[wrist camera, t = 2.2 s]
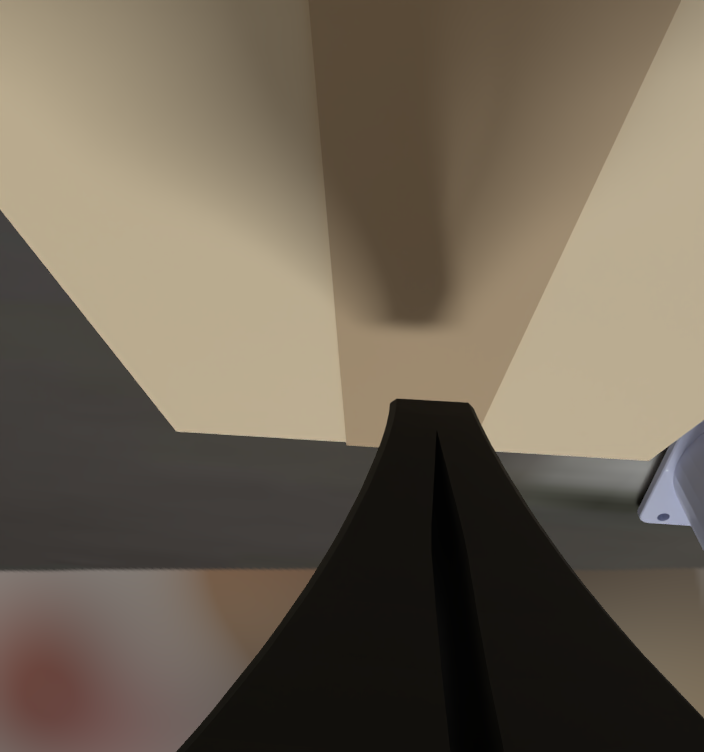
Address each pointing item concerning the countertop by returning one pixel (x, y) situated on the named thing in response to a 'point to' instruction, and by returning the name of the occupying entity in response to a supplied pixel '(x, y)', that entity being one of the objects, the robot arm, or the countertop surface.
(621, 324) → the cardboard lid
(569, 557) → the countertop surface
